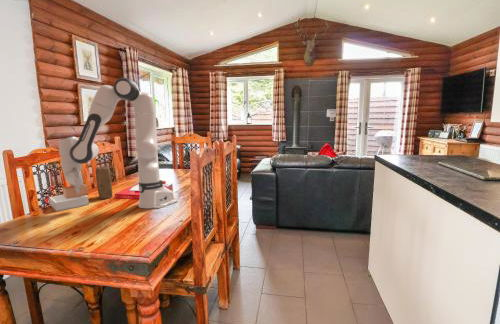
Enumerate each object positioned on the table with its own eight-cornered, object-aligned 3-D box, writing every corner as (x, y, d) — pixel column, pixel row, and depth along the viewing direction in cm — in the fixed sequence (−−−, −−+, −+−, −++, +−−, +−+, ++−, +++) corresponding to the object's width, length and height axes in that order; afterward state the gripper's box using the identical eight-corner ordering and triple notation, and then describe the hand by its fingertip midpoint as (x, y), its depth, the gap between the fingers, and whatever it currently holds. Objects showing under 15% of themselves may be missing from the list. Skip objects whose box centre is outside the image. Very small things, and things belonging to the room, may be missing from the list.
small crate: (84, 192, 154) (83, 183, 153) (87, 194, 150) (86, 185, 149) (64, 196, 147) (62, 187, 146) (66, 198, 143) (65, 189, 142)
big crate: (81, 199, 171) (80, 191, 170) (89, 204, 160) (88, 196, 159) (50, 205, 160) (49, 197, 159) (56, 211, 149) (55, 203, 148)
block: (113, 198, 173) (110, 167, 170) (100, 200, 168) (97, 168, 165) (110, 194, 181) (107, 165, 178) (97, 196, 177) (94, 166, 174)
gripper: (84, 168, 141) (87, 193, 143) (73, 164, 155) (77, 187, 157) (69, 170, 136) (74, 196, 139) (60, 165, 150) (64, 189, 153)
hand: (75, 191), depth 148 cm, fingers closed on small crate, 6 cm apart
